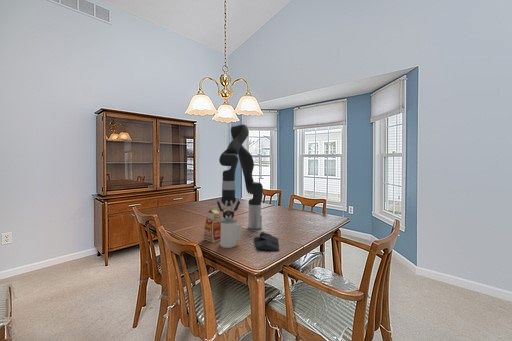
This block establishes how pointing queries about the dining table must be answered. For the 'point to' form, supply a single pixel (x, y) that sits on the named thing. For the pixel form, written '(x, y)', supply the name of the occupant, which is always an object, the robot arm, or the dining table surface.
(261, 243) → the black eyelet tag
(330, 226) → the dining table surface
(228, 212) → the plunger
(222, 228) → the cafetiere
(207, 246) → the dining table surface
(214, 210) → the milk carton
